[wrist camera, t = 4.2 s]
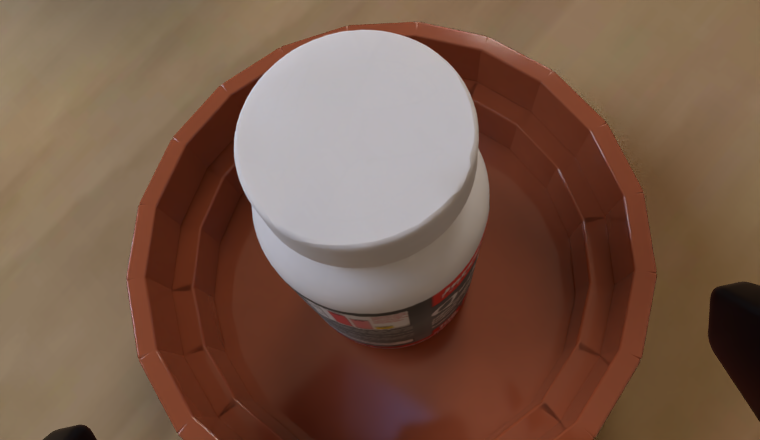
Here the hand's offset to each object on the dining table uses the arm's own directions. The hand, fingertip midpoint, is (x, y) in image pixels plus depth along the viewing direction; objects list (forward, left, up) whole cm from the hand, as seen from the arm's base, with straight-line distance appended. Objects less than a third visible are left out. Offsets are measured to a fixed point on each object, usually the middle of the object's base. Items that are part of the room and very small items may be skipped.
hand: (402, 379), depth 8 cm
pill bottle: (+1, -4, -11) cm, 12 cm away
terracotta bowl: (+1, -4, -11) cm, 12 cm away
